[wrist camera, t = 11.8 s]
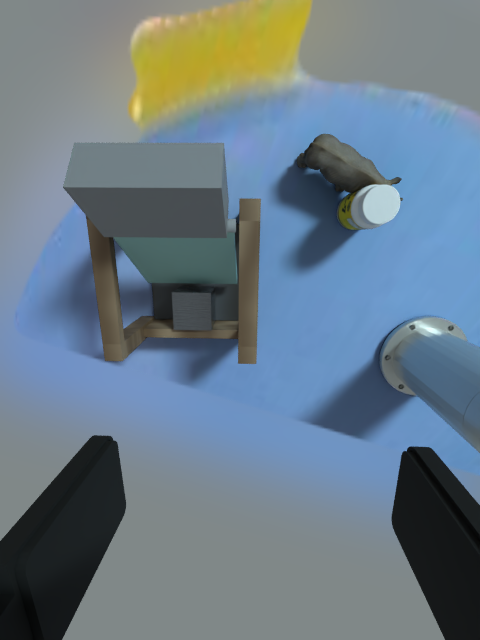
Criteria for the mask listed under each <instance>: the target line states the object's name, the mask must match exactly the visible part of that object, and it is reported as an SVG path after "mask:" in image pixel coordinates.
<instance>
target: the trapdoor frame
mask: <svg viewBox="0 0 480 640" xmlns="http://www.w3.org/2000/svg"><path fill="white" fill-rule="evenodd" d="M260 206H261V199H240V210H239V224H236V233H235V247H236V263H237V284H197V283H152V292H153V305H154V316H141V317H140V318H138V319H137V320H136V321H134V322H133V323H131V324H130V325H129V326H127V327H126V328H124V329H123V323H122V313H121V304H120V295H119V286H118V277H117V267H116V258H115V249H114V240H113V237H104V236H103V235H102V234H101V233H100V231H99V230H98V229H97V228H96V227H95V225H94V224H93V223H92V222H91V220H90V219H89V218H88V217H87V216H86V219H87V227H88V235H89V242H90V250H91V258H92V265H93V273H94V280H95V288H96V296H97V303H98V311H99V319H100V326H101V334H102V342H103V349H104V357H105V361H123V360H124V359H125V358H126V357H127V356H128V355H129V354H130V353H132V352H133V351H134V350H135V349H136V348H137V347H138V346H139V345H140V344H141V343H142V342H143V341H144V340H145V339H146V338H147V337H164V338H219V339H238V364H256V354H257V317H258V280H259V243H260ZM180 286H204V287H215V303H216V321H215V323H214V326H213V328H212V331H211V330H174V325H173V307H172V292H173V291H174V290H176V289H177V288H179V287H180Z"/></svg>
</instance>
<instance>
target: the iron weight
mask: <svg viewBox="0 0 480 640" xmlns="http://www.w3.org/2000/svg"><path fill="white" fill-rule="evenodd" d="M172 307H173V325H174V330H211V331H212V328H213V326H214V323H215V321H216V303H215V287H204V286H180V287H179V288H177V289H176V290H174V291H173V292H172Z"/></svg>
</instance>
